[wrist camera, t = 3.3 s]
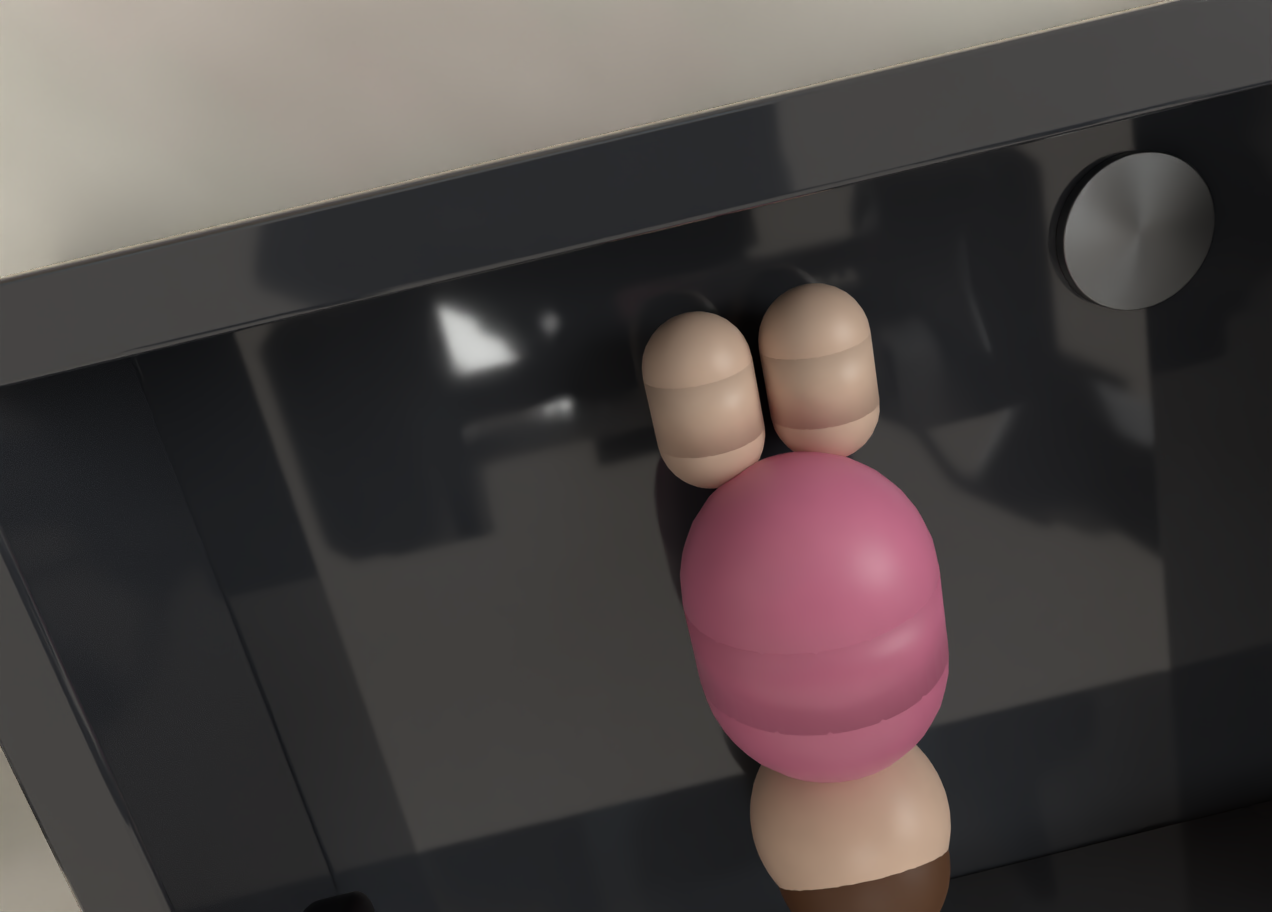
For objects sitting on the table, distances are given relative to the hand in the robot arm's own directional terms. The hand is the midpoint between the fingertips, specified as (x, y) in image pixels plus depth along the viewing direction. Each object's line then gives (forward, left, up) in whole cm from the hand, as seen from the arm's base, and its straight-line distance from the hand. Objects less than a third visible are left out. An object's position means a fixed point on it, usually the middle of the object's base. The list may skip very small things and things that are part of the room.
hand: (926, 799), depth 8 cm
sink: (0, 0, -6) cm, 6 cm away
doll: (0, 0, -5) cm, 5 cm away
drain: (-5, -3, -5) cm, 7 cm away
